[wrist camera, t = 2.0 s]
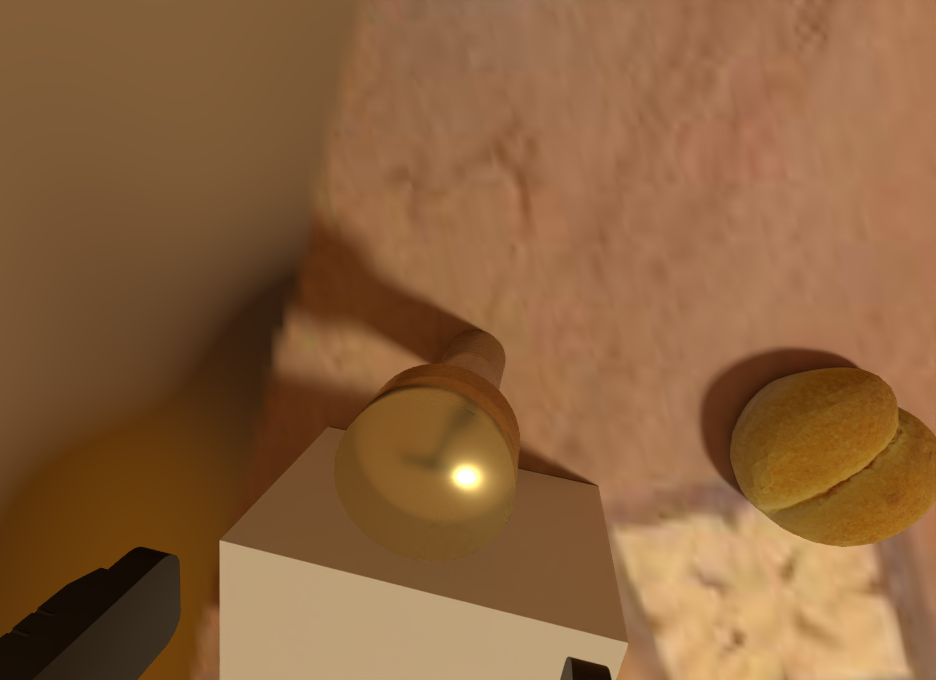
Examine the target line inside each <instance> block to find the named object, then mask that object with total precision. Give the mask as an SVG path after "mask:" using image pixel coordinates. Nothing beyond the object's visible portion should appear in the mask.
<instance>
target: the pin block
mask: <svg viewBox="0 0 936 680" xmlns="http://www.w3.org/2000/svg"><path fill="white" fill-rule="evenodd" d="M345 431H346V430H341V429H337V428H332V427H327V428H326V429H325V431H324V432H323V433H322V434H321V435H320V436H319V437H318V438H317V439H316V440H315V441H314V442H313V443H312V444H311V445H310V446H309V447H308V448H307V449H306V450H305V451H304V452H303V454H302V455H301V456H300V457H299V458H298V459H297V460H296V461H295V462H294V463H293V464H292V465H291V466H290V467H289V468H288V469H287V470H286V471H285V472H284V473H283V474H282V475H281V477H280V478H279V479H278V480H277V481H276V482H275V483H274V484H273V485H272V486H271V487H270V488H269V489H268V490H267V491H266V492H265V493H264V494H263V495H262V496H261V497H260V498H259V500H258V501H257V502H256V503H255V504H254V505H253V506H252V507H251V508H250V509H249V510H248V511H247V512H246V513H245V514H244V515H243V516H242V517H241V518H240V519H239V520H238V521H237V523H236V524H235V525H234V526H233V527H232V528H231V529H230V530H229V531H228V532H227V533H226V534H225V535H224V536H223V537H222V538H221V539H220V680H560V678H561V674H562V671H563V667H564V664H565V661H566V658H567V657H568V656H569V657H573V658H577V659H581V660H585V661H589V662H593V663H597V664H601V665H605V666H607V667H608V668H609V670H610V674H611V679H612V680H616V679H617V676H618V673H619V670H620V667H621V664H622V661H623V658H624V655H625V652H626V649H627V646H628V638H627V633H626V627H625V622H624V617H623V612H622V607H621V601H620V596H619V591H618V586H617V580H616V575H615V570H614V565H613V560H612V554H611V549H610V544H609V539H608V533H607V528H606V523H605V518H604V513H603V507H602V502H601V497H600V492H599V487H598V486H595V485H590V484H586V483H581V482H577V481H572V480H568V479H563V478H559V477H554V476H550V475H545V474H541V473H536V472H532V471H527V470H522V469H518V470H517V480H516V490H515V499H514V505H513V509H512V512H511V515H510V517H509V519H508V521H507V523H506V525H505V527H504V528H503V530H502V531H501V532H500V534H499V535H498V536H497V537H496V538H495V539H494V540H493V541H492V542H491V543H489V544H488V545H487V546H486V547H484V548H482V549H481V550H479V551H477V552H476V553H473V554H471V555H469V556H466V557H463V558H459V559H456V560H449V561H435V562H433V561H421V560H416V559H411V558H408V557H404V556H401V555H398V554H396V553H394V552H391V551H389V550H387V549H385V548H384V547H382V546H380V545H378V544H377V543H376V542H374V541H373V540H371V539H370V538H369V537H368V536H366V535H365V534H364V533H363V532H362V531H361V530H360V529H359V528H358V527H357V526H356V525H355V524H354V522H353V521H352V520H351V518H350V517H349V515H348V514H347V512H346V511H345V509H344V507H343V505H342V503H341V501H340V498H339V496H338V493H337V489H336V485H335V479H334V460H335V454H336V450H337V447H338V444H339V442H340V440H341V438H342V436H343V434H344V432H345Z"/></svg>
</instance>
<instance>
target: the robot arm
mask: <svg viewBox="0 0 936 680" xmlns="http://www.w3.org/2000/svg"><path fill="white" fill-rule="evenodd" d="M180 611H181V607H180V568H179V559H178V557H177V556H176V555H173V554H169V553H164V552H160V551H157V550H153V549H149V548H145V547H137V548H134V549H133V550H131V551H130V552H128V553H127V554H126V555H125V556H123V557H122V558H121V559H120V560H119V561H118V562H116V563H115V564H114V565H113V566H112V567H110V568H109V569H104V568H99V569H97V570H95V571H93V572H91V573H89V574H87V575H85V576H83V577H81V578H79V579H77V580H75V581H73V582H71V583H69V584H67V585H66V586H65V587H64V588H62V589H61V590H60V591H58V592H57V593H56V594H55V595H53V596H52V597H51V598H50V599H49V600H47V601H46V602H45V603H43V604H42V605H41V606H40V607H38V609H37V611H36V612H35V613H31V614H30V615H28V616H27V617H26V618H25V619H23V620H22V621H21V622H20V623H18V624H17V625H16V626H15V627H13V630H12V631H11V632H10V633H9V634H8V633H6V634H5V635H3V636H2V637H1V638H0V680H137V679H138V678H139V677H140V676H141V675H142V674H143V672H144V671H145V670H146V669H147V668H148V667H149V665H150V664H151V663H152V662H153V661H154V660H155V658H156V657H157V656H158V655H159V654H160V652H161V651H162V650H163V649H164V648H165V646H166V645H167V644H168V642H169V641H170V639H171V637H172V636H173V634H174V632H175V630H176V628H177V625H178V622H179V618H180ZM560 680H612V679H611V674H610V670H609V668H608V667H607V666H605V665H601V664H597V663H593V662H589V661H585V660H581V659H577V658H573V657H569V656H568V657H567V658H566V661H565V664H564V667H563V671H562V674H561V678H560Z"/></svg>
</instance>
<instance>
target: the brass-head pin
mask: <svg viewBox="0 0 936 680" xmlns="http://www.w3.org/2000/svg"><path fill="white" fill-rule="evenodd" d="M504 367H505V352H504V349H503V347H502V345H501V344H500V342H499V341H498V340H497V339H496V338H495V337H493V336H492V335H490V334H489V333H486V332H483V331H478V330H472V331H466V332H464V333H461V334H460V335H458V336H457V337H456V338H455V339H454V340H453V341H452V342H451V344H450V345H449V347H448V348H447V350H446V351H445V353H444V354H443V356H442V357H441V359H440V360H439V362H438V363H437V364H426V365H420V366H416V367H412V368H410V369H407V370H405V371H403V372H401V373H399V374H398V375H396V376H394V377H393V378H392V379H391V380H389V381H388V382H387V383H386V384H385V385H384V386H383V387H382V388H381V390H380V391H379V392H378V393H377V394H376V395H375V397H374V398H373V399H372V400H371V401H370V402H369V403H368V405H367V406H366V407H365V408H364V409H363V410H362V412H361V413H360V414H359V415H358V416H357V417H356V418H355V420H354V421H353V422H352V423H351V424H350V425H349V427H348V428H347V430H346V431H345V432H344V434H343V436H342V438H341V440H340V442H339V444H338V447H337V450H336V454H335V460H334V479H335V485H336V489H337V493H338V496H339V498H340V501H341V503H342V505H343V507H344V509H345V511H346V512H347V514H348V515H349V517H350V518H351V520H352V521H353V522H354V524H355V525H356V526H357V527H358V528H359V529H360V530H361V531H362V532H363V533H364V534H365V535H366V536H368V537H369V538H370V539H371V540H373V541H374V542H376V543H377V544H378V545H380V546H382V547H384V548H385V549H387V550H389V551H391V552H394V553H396V554H398V555H401V556H404V557H408V558H411V559H416V560H421V561H433V562H435V561H449V560H456V559H459V558H463V557H466V556H469V555H471V554H473V553H476V552H477V551H479V550H481V549H482V548H484V547H486V546H487V545H488V544H489V543H491V542H492V541H493V540H494V539H495V538H496V537H497V536H498V535H499V534H500V532H501V531H502V530H503V528H504V527H505V525H506V523H507V521H508V519H509V517H510V515H511V512H512V509H513V505H514V499H515V490H516V480H517V470H518V460H519V449H520V433H519V426H518V423H517V419H516V416H515V414H514V412H513V410H512V408H511V406H510V404H509V403H508V401H507V400H506V398H505V397H504V396H503V395H502V393H501V392H500V391H499V388H500V384H501V380H502V375H503V371H504Z"/></svg>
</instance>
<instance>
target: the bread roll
mask: <svg viewBox="0 0 936 680" xmlns="http://www.w3.org/2000/svg"><path fill="white" fill-rule="evenodd" d="M730 460H731V464H732V467H733V469H732V470H733V471H734V474H735V477H736V480H737V483H738V484H739V487H740V489H741V491H742V492H743V494H744V495H745V497H746V498H747V499H748V500H749V501H750V502H751V503H752V504H753V505H754V506H755V507H756V508H757V509H759V510H760V511H762V512H763V513H764V514H765V515H766V516H767V517H768V518H769V519H771V520H772V521H773V522H775V523H776V524H778V525H779V526H780V527H782V528H783V529H785V530H787V531H789V532H791V533H792V534H795V535H797V536H800V537H802V538H804V539H807V540H810V541H812V542H816V543H821V544H826V545H832V546H840V547H847V546H859V545H866V544H871V543H875V542H878V541H882V540H884V539H887V538H889V537H892V536H894V535H896V534H898V533H900V532H902V531H903V530H905V529H907V528H908V527H910V526H911V525H912V524H914V523H915V522H917V521H918V520H919V519H920V518H921V517H922V516H923V515H924V514H925V513H926V512H927V511H928V510H929V509H930V508H931V506H932V505H933V504H934V502H935V501H936V437H935V435H934V434H933V433H932V431H931V430H930V429H929V428H928V427H927V426H926V425H925V424H924V423H922V422H921V421H920V420H919V419H918V418H916V417H915V416H913V415H912V414H910V413H909V412H907V411H905V410H903V409H901V408H899V407H898V406H897V401H896V397H895V395H894V393H893V391H892V389H891V387H890V386H889V385H888V384H887V383H886V382H885V381H883V380H882V379H881V378H880V377H879V376H877V375H875V374H872V373H870V372H868V371H865V370H862V369H857V368H847V367H839V368H825V369H816V370H810V371H806V372H801V373H796V374H792V375H788V376H785V377H782V378H779V379H776V380H774V381H772V382H771V383H769V384H768V385H766V386H765V387H764V388H762V389H761V390H760V391H759V392H758V393H757V394H756V395H755V396H754V397H753V398H752V399H751V400H750V401H749V402H748V403H747V405H746V406H745V408H744V409H743V411H742V413H741V415H740V416H739V418H738V420H737V423H736V425H735V428H734V430H733V433H732V438H731V444H730Z"/></svg>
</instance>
